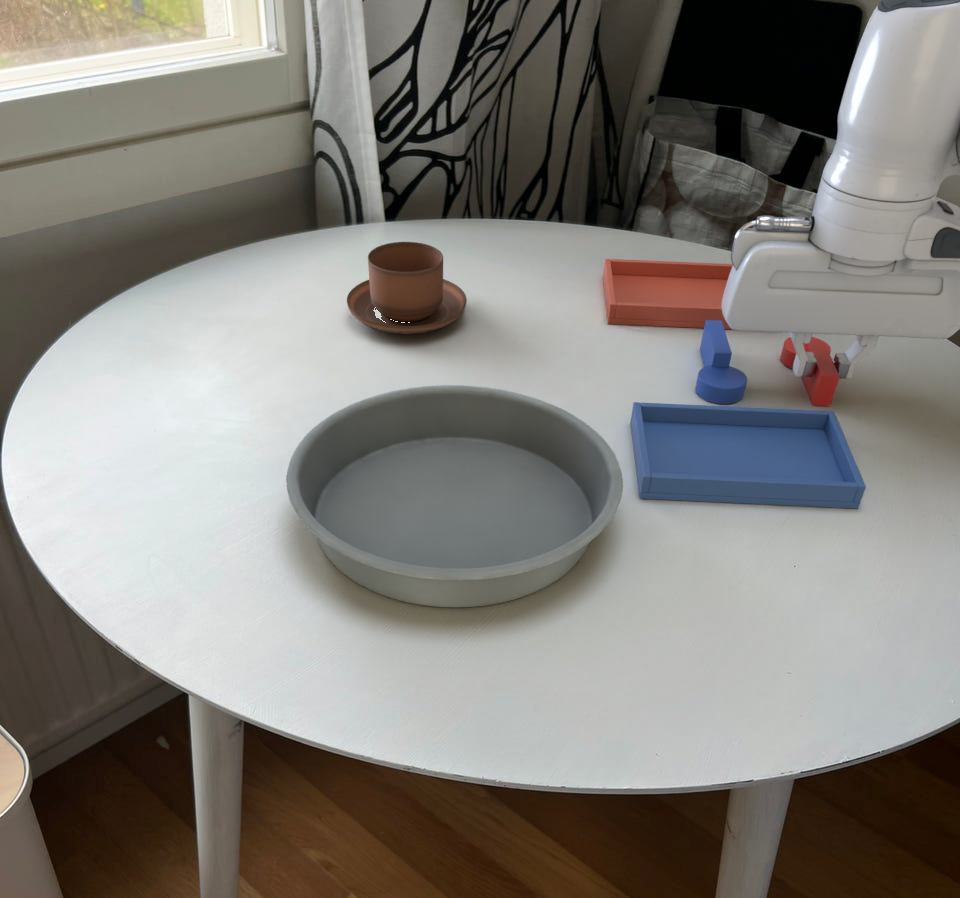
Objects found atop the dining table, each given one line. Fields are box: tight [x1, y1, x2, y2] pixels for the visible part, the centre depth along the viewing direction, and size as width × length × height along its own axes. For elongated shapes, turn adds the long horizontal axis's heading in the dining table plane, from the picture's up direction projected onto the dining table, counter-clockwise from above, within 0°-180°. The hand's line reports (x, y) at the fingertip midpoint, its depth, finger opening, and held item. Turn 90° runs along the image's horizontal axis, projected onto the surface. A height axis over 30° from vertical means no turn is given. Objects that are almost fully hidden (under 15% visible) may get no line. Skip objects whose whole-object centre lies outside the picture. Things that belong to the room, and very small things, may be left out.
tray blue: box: [630, 401, 867, 510], centre depth 78 cm, size 17×11×2 cm, turn 87°
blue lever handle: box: [694, 320, 748, 405], centre depth 88 cm, size 10×4×3 cm, turn 177°
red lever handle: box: [779, 336, 840, 407], centre depth 89 cm, size 10×4×3 cm, turn 177°
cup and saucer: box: [346, 241, 468, 335], centre depth 94 cm, size 12×12×6 cm
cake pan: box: [285, 384, 624, 608], centre depth 71 cm, size 25×25×4 cm
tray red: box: [602, 258, 733, 330], centre depth 100 cm, size 17×11×2 cm, turn 87°
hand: (821, 375), depth 86 cm, fingers closed
